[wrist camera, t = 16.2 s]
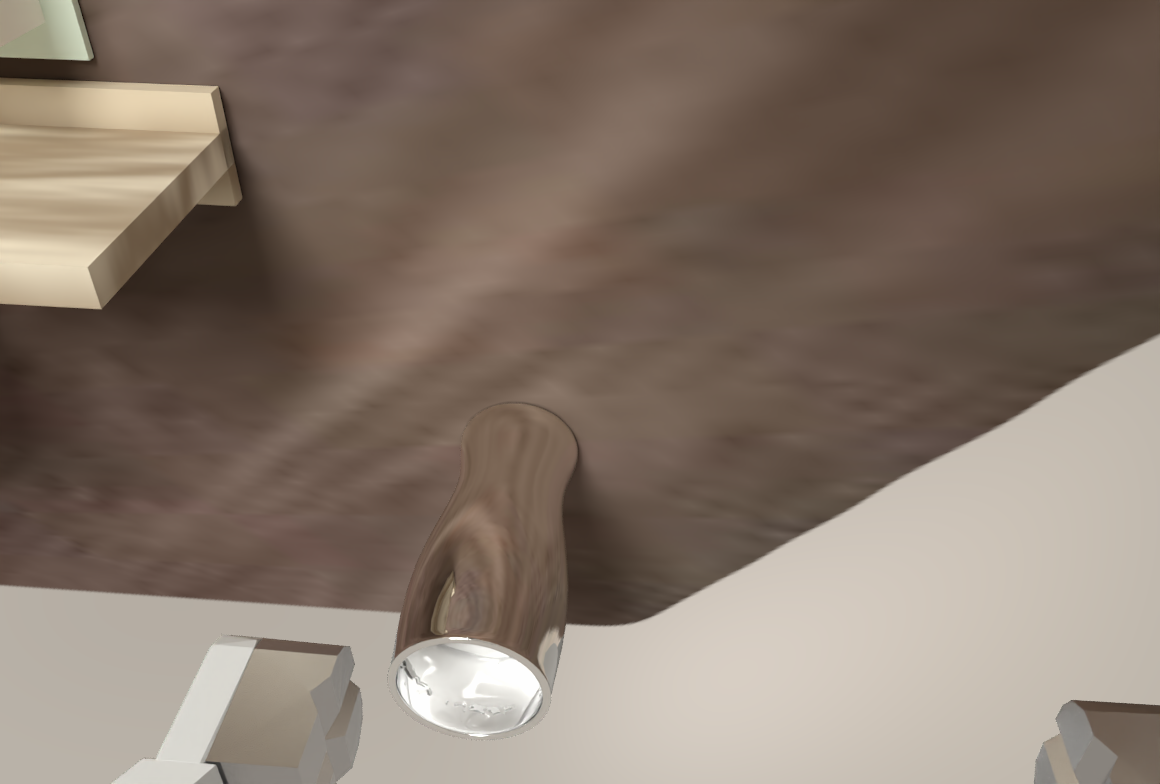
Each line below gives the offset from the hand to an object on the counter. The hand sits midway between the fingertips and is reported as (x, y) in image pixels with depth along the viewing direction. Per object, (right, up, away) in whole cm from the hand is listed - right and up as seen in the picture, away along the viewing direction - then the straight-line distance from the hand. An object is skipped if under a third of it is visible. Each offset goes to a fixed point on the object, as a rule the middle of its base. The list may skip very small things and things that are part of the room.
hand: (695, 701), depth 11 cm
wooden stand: (-23, +15, +31) cm, 41 cm away
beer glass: (-4, +1, +39) cm, 39 cm away
